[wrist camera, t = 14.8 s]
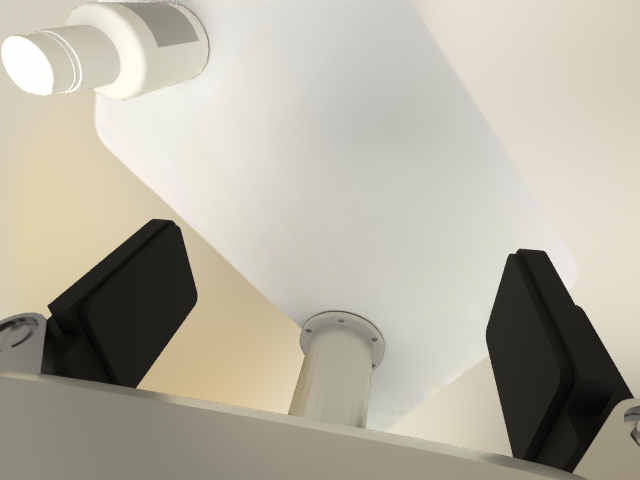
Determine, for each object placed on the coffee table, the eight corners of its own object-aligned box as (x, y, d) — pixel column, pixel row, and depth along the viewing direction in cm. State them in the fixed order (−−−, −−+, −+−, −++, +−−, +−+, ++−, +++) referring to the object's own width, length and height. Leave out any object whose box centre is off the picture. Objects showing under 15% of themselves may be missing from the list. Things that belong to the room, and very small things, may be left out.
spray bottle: (199, -2, 35) (44, -8, 20) (217, 76, 38) (97, 120, 24) (137, 7, 37) (-50, 9, 22) (160, 81, 40) (13, 126, 25)
